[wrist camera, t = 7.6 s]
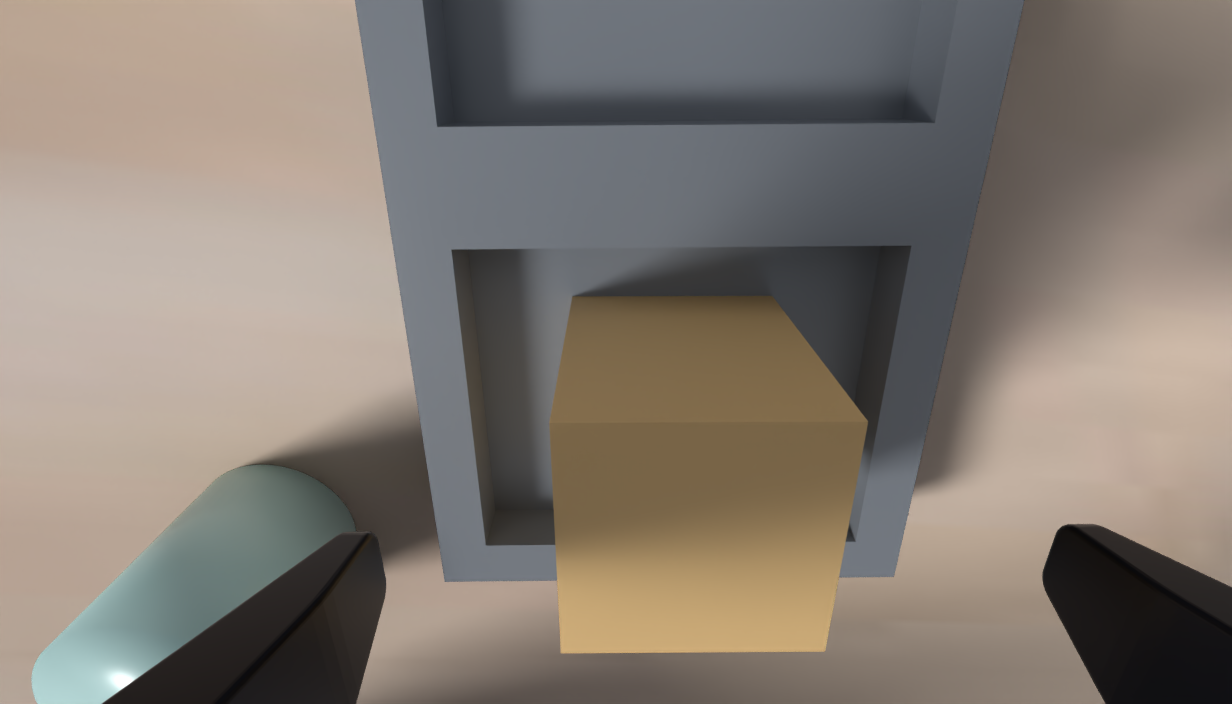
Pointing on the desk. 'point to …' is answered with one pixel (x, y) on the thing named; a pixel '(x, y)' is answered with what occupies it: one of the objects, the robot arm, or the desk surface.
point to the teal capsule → (190, 579)
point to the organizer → (673, 214)
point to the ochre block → (697, 478)
